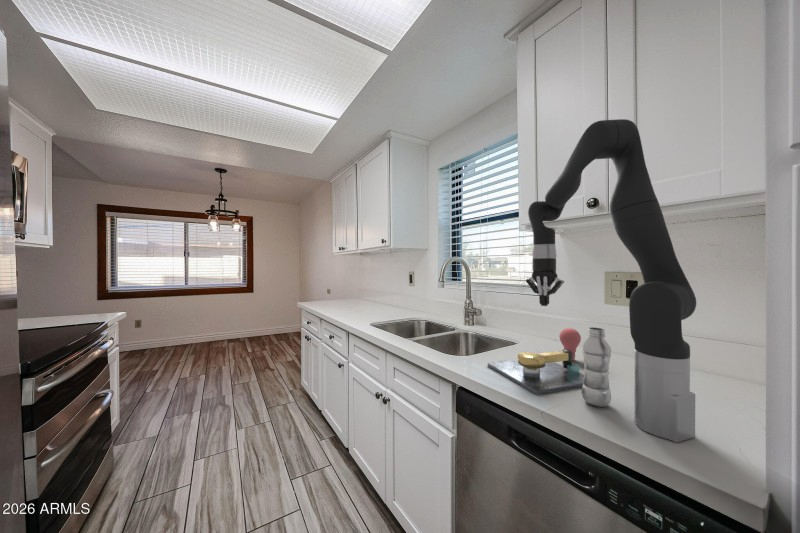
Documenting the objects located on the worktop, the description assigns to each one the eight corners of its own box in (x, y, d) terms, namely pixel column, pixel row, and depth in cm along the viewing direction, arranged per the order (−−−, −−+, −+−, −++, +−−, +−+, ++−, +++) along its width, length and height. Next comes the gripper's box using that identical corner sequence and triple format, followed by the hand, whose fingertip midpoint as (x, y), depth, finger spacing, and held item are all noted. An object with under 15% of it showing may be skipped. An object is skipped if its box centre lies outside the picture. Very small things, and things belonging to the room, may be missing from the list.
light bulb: (575, 356, 114) (574, 326, 114) (584, 362, 107) (584, 330, 107) (556, 356, 115) (556, 326, 115) (564, 362, 108) (564, 330, 108)
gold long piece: (529, 378, 87) (529, 360, 87) (512, 369, 95) (512, 352, 95) (581, 370, 93) (581, 354, 93) (561, 362, 100) (561, 347, 100)
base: (597, 384, 89) (597, 367, 89) (537, 395, 82) (537, 377, 82) (538, 359, 112) (538, 346, 111) (487, 366, 105) (487, 352, 105)
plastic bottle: (575, 400, 78) (575, 327, 78) (593, 396, 81) (593, 325, 80) (599, 412, 72) (599, 332, 72) (617, 407, 75) (617, 330, 74)
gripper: (521, 257, 106) (521, 304, 106) (559, 257, 96) (559, 309, 96) (531, 257, 111) (531, 302, 111) (568, 257, 100) (568, 306, 101)
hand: (544, 305), depth 103 cm, fingers closed
